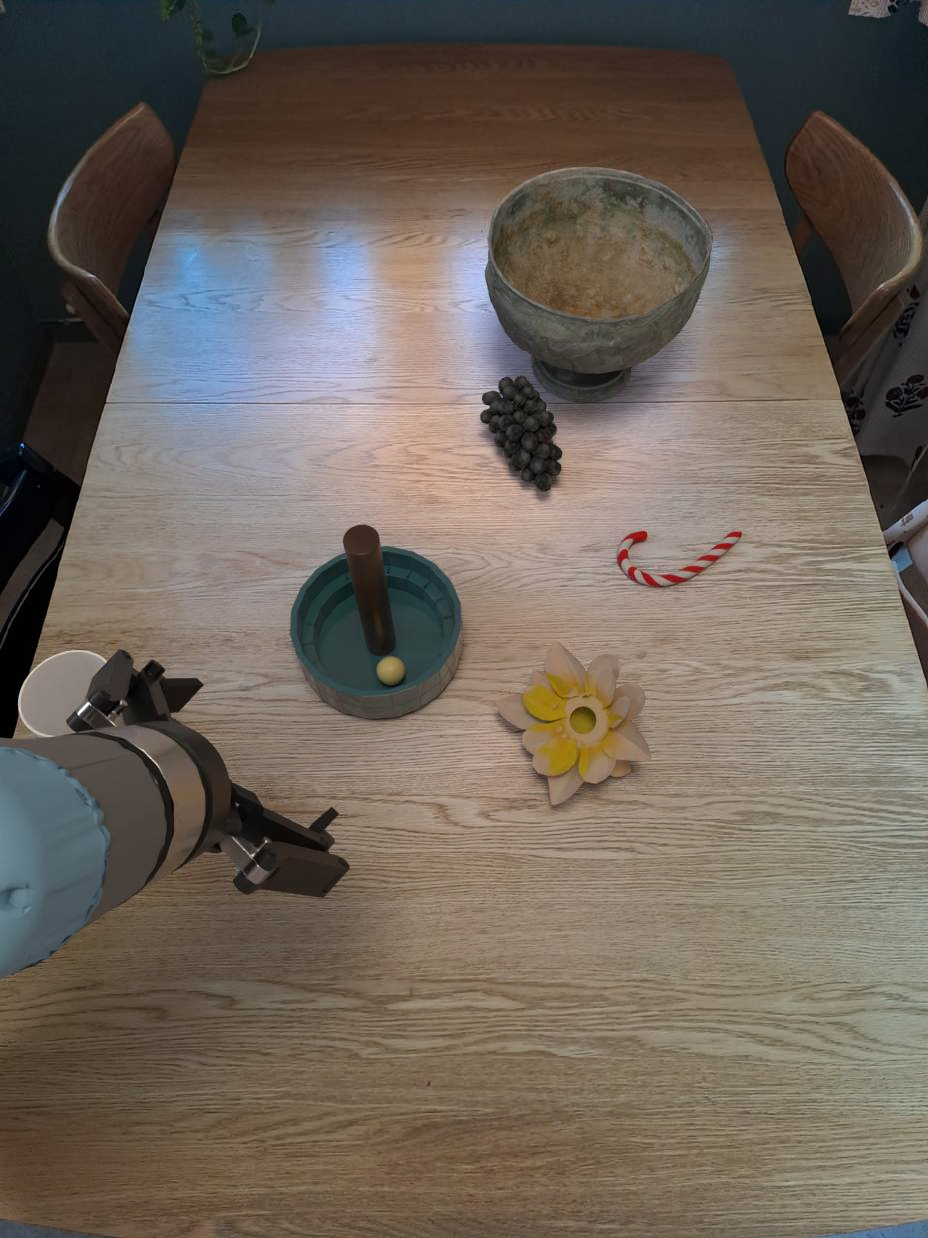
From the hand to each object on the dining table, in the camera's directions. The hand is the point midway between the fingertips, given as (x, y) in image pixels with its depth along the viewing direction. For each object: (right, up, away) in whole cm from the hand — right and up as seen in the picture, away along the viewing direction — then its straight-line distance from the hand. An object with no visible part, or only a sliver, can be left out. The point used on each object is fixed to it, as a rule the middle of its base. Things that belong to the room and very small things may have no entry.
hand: (254, 759), depth 61 cm
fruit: (+22, +30, +43) cm, 57 cm away
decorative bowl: (+30, +44, +50) cm, 73 cm away
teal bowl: (+6, +7, +30) cm, 32 cm away
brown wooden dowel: (+6, +8, +30) cm, 31 cm away
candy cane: (+40, +18, +36) cm, 57 cm away
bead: (+8, +5, +27) cm, 28 cm away
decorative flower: (+26, -1, +26) cm, 37 cm away
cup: (-18, -4, +25) cm, 31 cm away
